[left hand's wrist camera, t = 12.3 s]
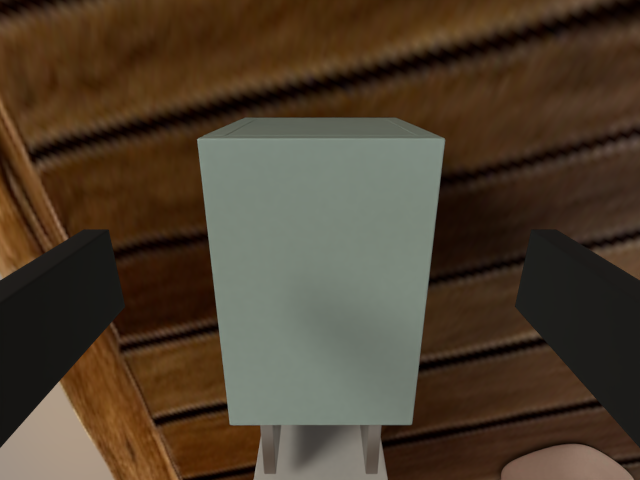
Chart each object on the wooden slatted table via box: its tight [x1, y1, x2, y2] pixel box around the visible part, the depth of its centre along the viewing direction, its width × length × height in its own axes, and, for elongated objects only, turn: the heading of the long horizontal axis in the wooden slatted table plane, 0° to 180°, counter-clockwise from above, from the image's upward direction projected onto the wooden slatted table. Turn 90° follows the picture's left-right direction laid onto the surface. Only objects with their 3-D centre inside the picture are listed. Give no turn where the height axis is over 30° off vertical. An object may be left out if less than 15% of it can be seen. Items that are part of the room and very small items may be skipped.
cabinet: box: [197, 118, 445, 425], centre depth 24 cm, size 16×10×11 cm, turn 0°
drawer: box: [254, 425, 388, 480], centre depth 29 cm, size 21×9×9 cm, turn 0°
